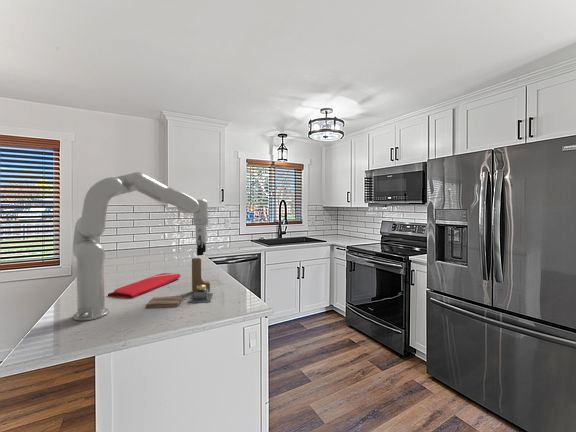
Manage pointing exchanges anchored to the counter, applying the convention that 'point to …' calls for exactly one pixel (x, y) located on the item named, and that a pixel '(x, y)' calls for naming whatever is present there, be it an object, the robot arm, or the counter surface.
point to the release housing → (201, 296)
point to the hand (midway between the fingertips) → (201, 253)
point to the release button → (201, 287)
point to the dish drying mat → (144, 285)
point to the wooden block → (197, 275)
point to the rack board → (164, 301)
